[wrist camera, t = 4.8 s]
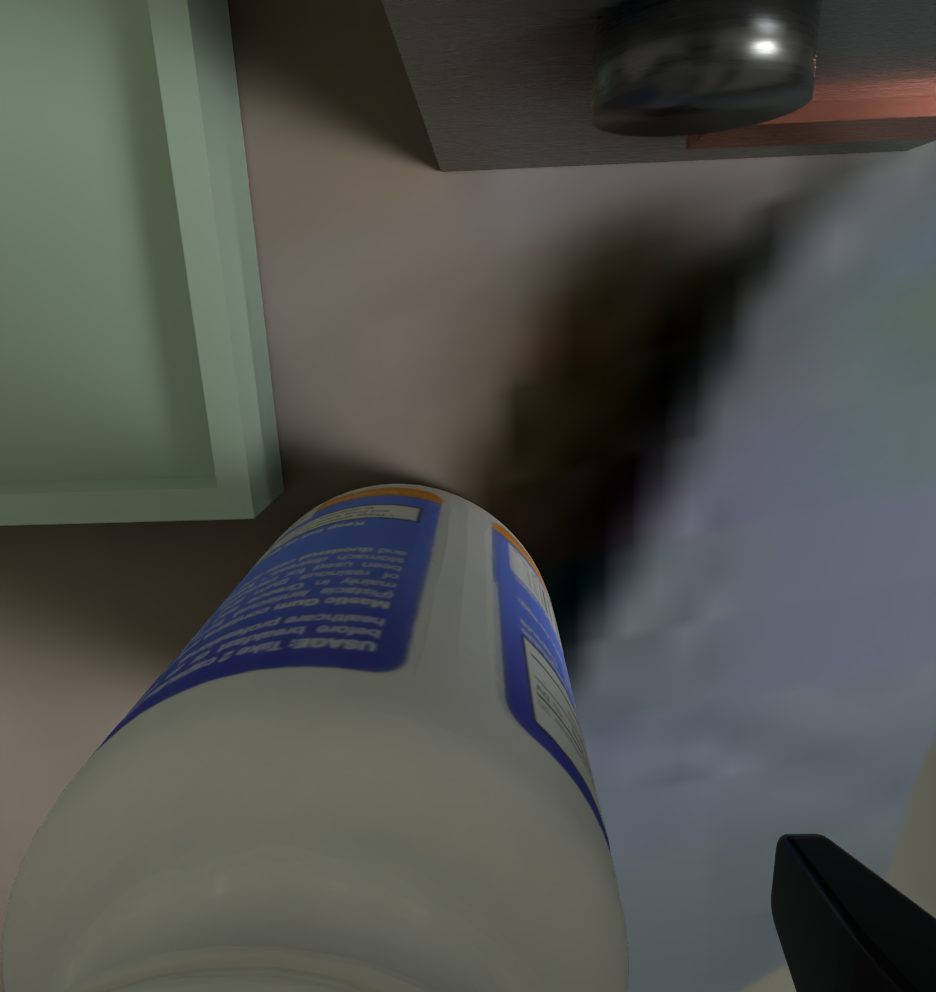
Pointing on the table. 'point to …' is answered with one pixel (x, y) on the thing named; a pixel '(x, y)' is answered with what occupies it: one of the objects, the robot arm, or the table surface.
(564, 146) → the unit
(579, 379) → the table surface
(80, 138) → the tray
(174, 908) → the pill bottle
